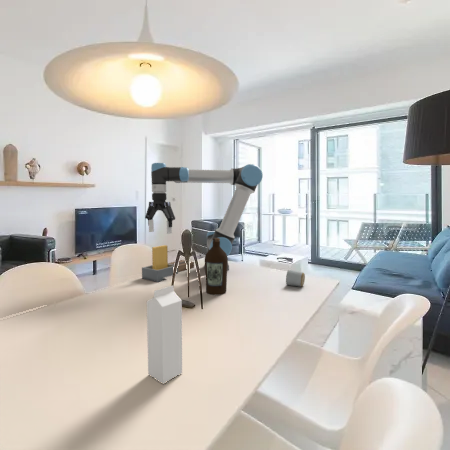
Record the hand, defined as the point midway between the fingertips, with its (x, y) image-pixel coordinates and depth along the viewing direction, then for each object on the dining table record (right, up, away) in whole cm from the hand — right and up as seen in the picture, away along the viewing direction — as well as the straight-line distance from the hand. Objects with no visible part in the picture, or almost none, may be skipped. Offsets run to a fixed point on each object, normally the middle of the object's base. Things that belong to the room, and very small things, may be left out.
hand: (160, 232), depth 162 cm
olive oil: (+31, -27, -22) cm, 47 cm away
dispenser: (+8, -23, +16) cm, 29 cm away
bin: (0, -24, +2) cm, 24 cm away
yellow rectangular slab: (0, -23, +2) cm, 24 cm away
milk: (+20, -33, -87) cm, 96 cm away
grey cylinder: (+70, -26, -10) cm, 75 cm away
